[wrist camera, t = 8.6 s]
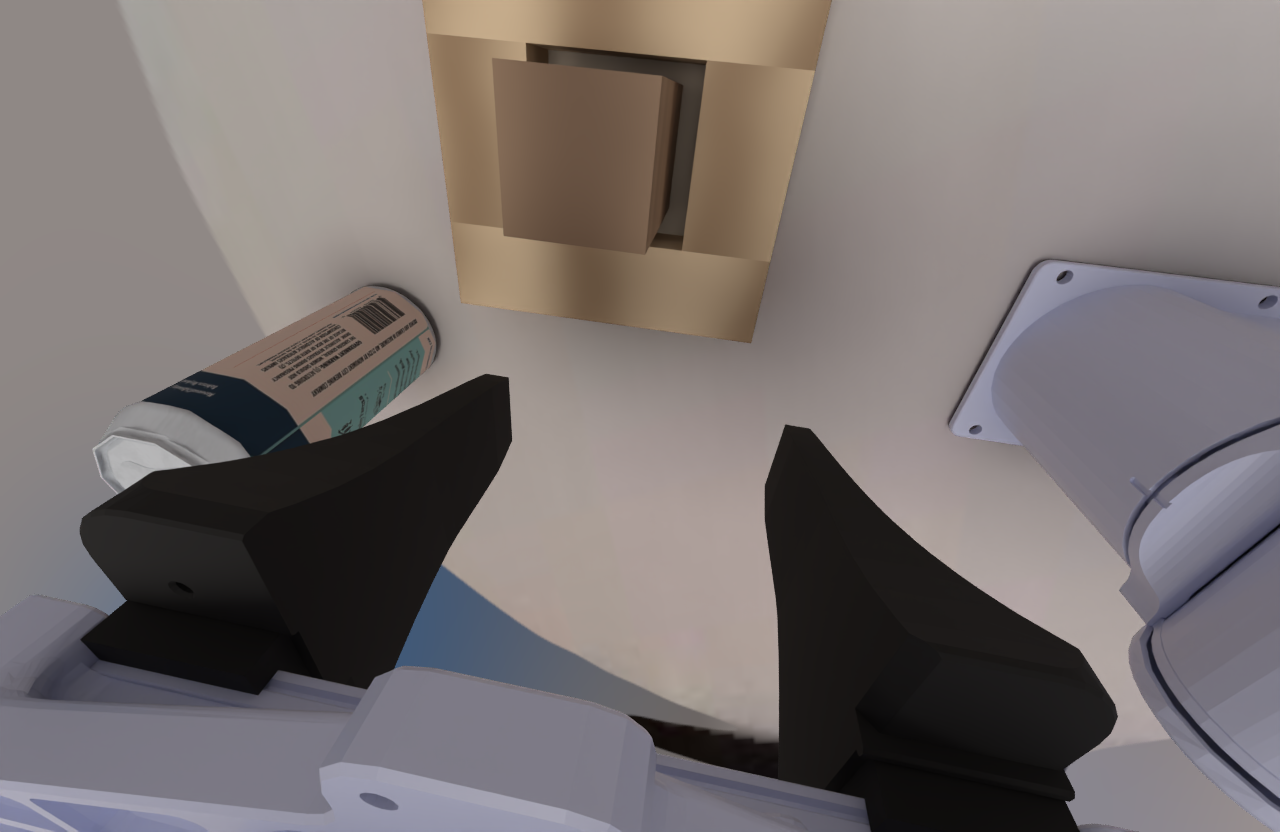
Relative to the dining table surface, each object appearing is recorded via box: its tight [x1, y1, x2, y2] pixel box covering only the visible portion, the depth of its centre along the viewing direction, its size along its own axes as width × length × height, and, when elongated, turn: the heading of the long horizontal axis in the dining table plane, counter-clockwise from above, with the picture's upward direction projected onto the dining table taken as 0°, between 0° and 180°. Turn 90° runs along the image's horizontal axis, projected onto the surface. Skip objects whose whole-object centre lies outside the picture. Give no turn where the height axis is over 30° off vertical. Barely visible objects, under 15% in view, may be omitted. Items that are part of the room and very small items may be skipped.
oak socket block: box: [422, 0, 832, 343], centre depth 17 cm, size 12×12×2 cm
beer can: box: [93, 286, 436, 494], centre depth 19 cm, size 5×5×12 cm
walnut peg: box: [492, 58, 683, 255], centre depth 15 cm, size 4×4×7 cm
